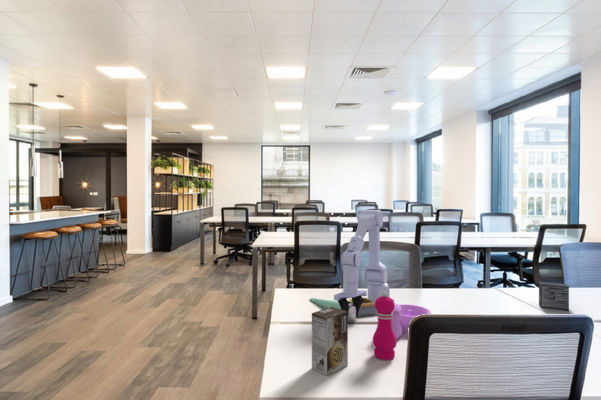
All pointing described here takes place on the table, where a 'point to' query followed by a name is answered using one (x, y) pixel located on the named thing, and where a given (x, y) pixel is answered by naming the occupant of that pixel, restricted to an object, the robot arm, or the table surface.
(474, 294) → the table surface
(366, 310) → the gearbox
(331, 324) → the grey cardboard box
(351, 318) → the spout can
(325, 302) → the mint green cylinder
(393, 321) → the container set
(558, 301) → the small box
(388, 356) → the pepper mill
